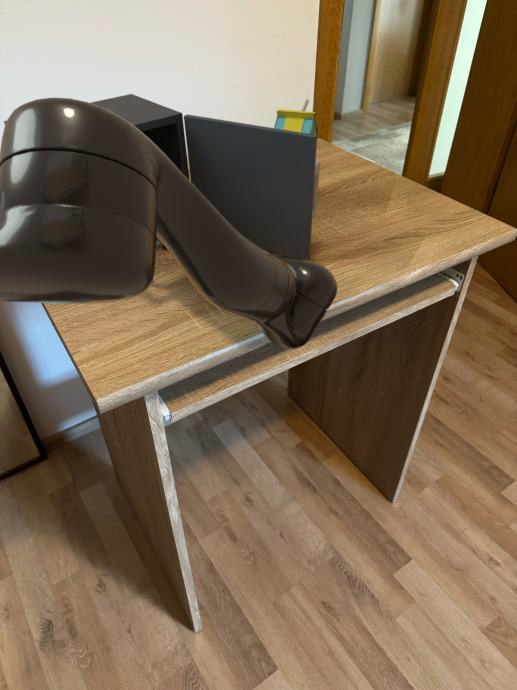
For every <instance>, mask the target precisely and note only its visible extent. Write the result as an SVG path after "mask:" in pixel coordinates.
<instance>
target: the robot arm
mask: <svg viewBox="0 0 517 690" xmlns="http://www.w3.org/2000/svg"><path fill="white" fill-rule="evenodd" d="M5 121H6V124H4V128H3V131H2V136H1V140H0V141H1V142H0V302H13V303H32V304H33V303H34V304H36V303H37V304H38V303H39V304H59V305H60V304H61V305H62V304H64V305H68V304H69V305H98V304H99V305H101V304H112V303H113V304H114V303H118V302H119V303H120V302H124V301H129V300H132V299H135V298H137V297H140V296H141V295H144V294H146V292H147V291H149V289H150V288H151V287H152V285H153V283H154V278H155V273H156V260H157V251H160V250H162V251H165V252H169V253H170V255H171V256H172V258H173V259H174V261H175V262H176V263H177V265H178V266H179V268H180V269H181V271H182V272H183V274H184V275H185V276H186V278H187V279H188V281H189V283H191V285H192V286H193V287H194V288H195V290H196V291H197V292H198V293H199V294H200V295H201V296H202V297H203V298H204V299H205V300H206V301H207V302H208V303H210V304H211V305H212V306H213V307H216V309H217V308H218V309H219V310H221V311H223V312H225V313H229V314H231V315H233V316H237V317H240V318H243V319H245V320H248V321H251V322H252V323H253V324H254V325H255V326H256V328H257V329H258V330H259V331H260V333H261V334H262V335H263V336H265V338H267V340H269V341H270V342H271V343H273V344H274V345H276V346H278V347H280V348H283V349H286V350H287V349H288V350H295V349H296V350H297V349H299V348H301V347H303V346H305V345H306V344H307V343H309V342H310V340H311V338H313V335H314V334H315V332H316V331H317V329H318V327H319V325H320V324H321V322H322V320H323V319H324V317H325V316H326V314H327V313H328V310H329V309H330V307H331V305H332V304H333V302H334V300H335V299H336V297H337V294H338V283H337V280H336V278H335V275H334V274H333V273H332V272H331V271H330V270H329V269H328V268H326V267H325V266H324V265H322V264H320V263H318V262H315V261H312V260H310V259H309V260H304V259H298V258H292V257H288V256H284V255H279V254H275V253H273V252H269V251H267V250H265V249H264V248H262V247H261V246H259V245H257V244H256V243H254V242H253V241H251V240H250V239H248V238H247V237H246V236H245V235H243V234H242V233H241V232H240V231H238V230H237V229H236V228H235V227H234V226H233V225H232V224H231V223H230V222H229V221H228V220H227V219H226V218H225V217H224V216H223V213H222V212H221V211H219V210H218V209H216V207H215V206H214V205H213V204H212V203H211V202H210V201H209V200H208V199H207V198H206V197H205V196H204V195H203V194H202V193H201V191H200V190H199V189H198V188H197V187H196V186H195V185H194V184H193V183H192V182H191V179H190V180H189V179H188V178H187V177H186V176H185V175H184V174H183V173H182V172H181V171H180V170H179V169H178V168H177V167H176V165H175V164H174V163H173V162H172V161H171V160H170V159H169V158H168V157H167V156H166V155H165V154H164V153H163V152H162V151H161V150H160V149H159V148H158V147H157V146H156V145H155V144H154V143H153V142H152V141H151V140H150V139H149V138H148V137H147V136H146V135H145V134H144V133H142V132H141V131H140V130H139V129H137V128H136V127H135V126H134V125H132V124H131V123H129V122H128V121H126V120H125V119H123V118H122V117H120V116H118V115H116V114H115V113H113V112H111V111H109V110H107V109H105V108H102V107H100V106H97V105H94V104H92V103H91V102H88V101H84V100H80V99H76V98H75V99H74V98H72V97H71V98H68V97H46V98H37V99H34V100H31V101H28V102H25V103H23V104H21V105H19V106H18V107H16V108H15V109H14V110H13V111H12V113H11V114H10V115H9V117H8V118H7V119H6V120H5Z"/></svg>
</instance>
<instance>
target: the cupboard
mask: <svg viewBox="0 0 517 690" xmlns="http://www.w3.org/2000/svg"><path fill="white" fill-rule="evenodd" d="M90 103H92V104H94V105H97V106H100V107H102V108H105V109H107V110H109V111H111V112H113V113H115V114H116V115H118V116H120V117H122V118H123V119H125V120H126V121H128V122H129V123H131V124H132V125H134V126H135V127H136V128H137V129H139V130H140V131H141V132H142V133H144V134H145V135H146V136H147V137H148V138H149V139H150V140H151V141H152V142H153V143H154V144H155V145H156V146H157V147H158V148H159V149H160V150H161V151H162V152H163V153H164V154H165V155H166V156H167V157H168V158H169V159H170V160H171V161H172V162H173V163H174V164H175V165H176V167H177V168H178V169H179V170H180V171H181V172H182V173H183V174H184V175H185V176H186V177H187V178H188V179H189V180H190V181H191V178H190V169H189V160H188V151H187V142H186V133H185V124H184V115H183V112H180V111H177V110H176V109H172V108H169V107H167V106H164V105H162V104H159V103H157V102H154V101H151V100H149V99H146V98H143V97H141V96H138V95H135V94H133V93H129V94H123V95H119V96H115V97H110V98H106V99H100V100H96V101H92V102H90ZM6 121H7V120H3V125H5V124H6Z"/></svg>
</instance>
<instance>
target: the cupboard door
mask: <svg viewBox="0 0 517 690" xmlns="http://www.w3.org/2000/svg"><path fill="white" fill-rule="evenodd" d="M183 125H184V134H185V142H186V151H187V160H188V169H189V178H190V181H191V182H192V183H193V184H194V185H195V186H196V187H197V188H198V189H199V190H200V191H201V193H202V194H203V195H204V196H205V197H206V198H207V199H208V200H209V201H210V202H211V203H212V204H213V205H214V206H215V207H216V209H218V210H219V211H221V212H222V213H223V216H224V217H225V218H226V219H227V220H228V221H229V222H230V223H231V224H232V225H233V226H234V227H235V228H236V229H237V230H238V231H240V232H241V233H242V234H243V235H245V236H246V237H247V238H248V239H250V240H251V241H253V242H254V243H256V244H257V245H259V246H261V247H262V248H264V249H265V250H267V251H269V252H270V253H272V254H276V255H279V256H283V257H291V258H298V259H304V260H309V261H310V258H311V242H312V227H313V220H314V219H315V218H316V217H317V215H318V201H319V187H320V171H321V160H319V159H317V148H316V146H318V134H317V135H314V134H307V133H301V132H295V131H288V130H282V129H276V128H274V127H268V126H262V125H256V124H250V123H244V122H239V121H233V120H225V119H218V118H212V117H205V116H199V115H195V114H185V115H183Z"/></svg>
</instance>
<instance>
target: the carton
mask: <svg viewBox="0 0 517 690" xmlns="http://www.w3.org/2000/svg"><path fill="white" fill-rule="evenodd" d="M309 102H310V100H309V99H307V98H305V99H304V102H303V104H302V107H301V109H300V110H294V109H281V108H280V109H279V108H278V109H277V110H276V119H275V123H274V127H273V128H276V129H282V130H288V131H295V132H301V133H307V134H314V135H317V136H318V131H319V130H318V128H319V127H318V125H317V121H316V120H315V117H316V116H315V115H316V112H315V111H307V110H306V109H307V107H308V105H309ZM317 146H318V145H317ZM317 146H316V149H317Z"/></svg>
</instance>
